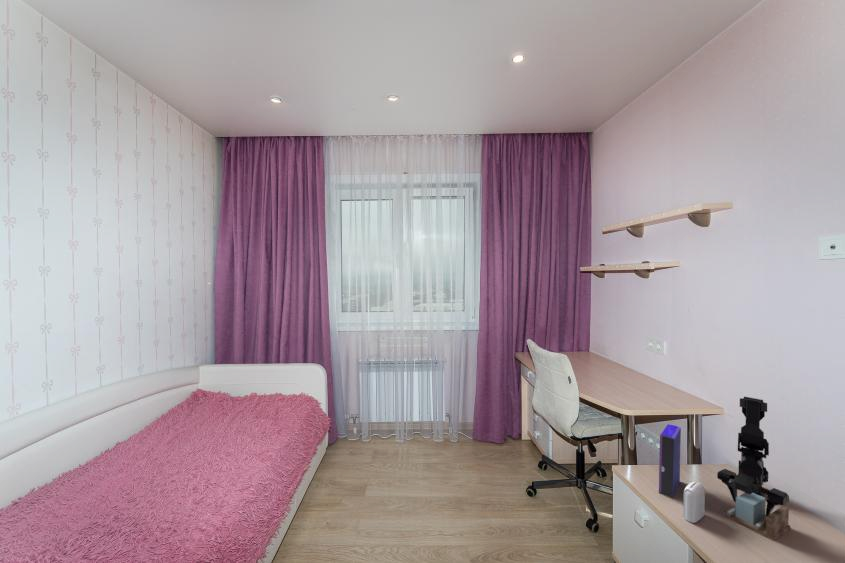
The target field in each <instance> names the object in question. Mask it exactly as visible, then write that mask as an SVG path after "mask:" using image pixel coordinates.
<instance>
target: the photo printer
mask: <svg viewBox="0 0 845 563" xmlns="http://www.w3.org/2000/svg"><path fill="white" fill-rule="evenodd" d="M705 494H706V488H705V486H704V485H703V484H702V483H700V482H699V481H693V482H690V483H688V484H687V485H686V486H685V488H684V490H683V507H682V508H683V510H682V511H683V512H682V517H683V519H684V520H685V521H687V522H689V523H692V524H696V523H698V522H699V521H700V520H701V519H703V518H704V516H705V505H706V504H705V502H706V500H705V499H706V495H705Z"/></svg>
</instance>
